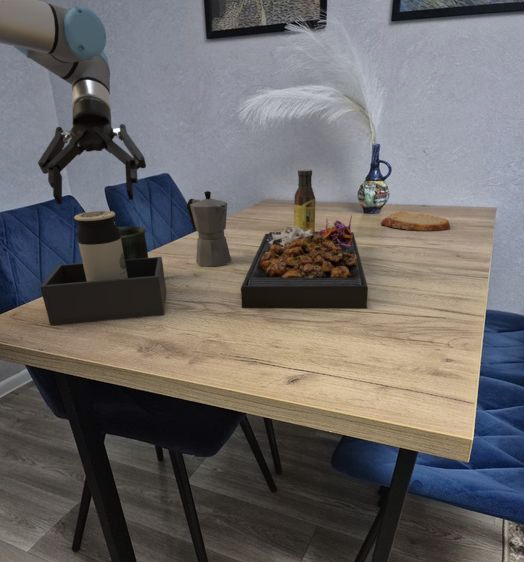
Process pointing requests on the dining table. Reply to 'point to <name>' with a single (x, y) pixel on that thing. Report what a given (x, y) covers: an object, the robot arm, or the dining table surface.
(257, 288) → the food platter
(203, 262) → the coffeepot
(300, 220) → the sauce bottle
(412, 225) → the bread slice
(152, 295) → the bin
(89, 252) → the travel mug
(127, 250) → the mug
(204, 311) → the dining table surface
